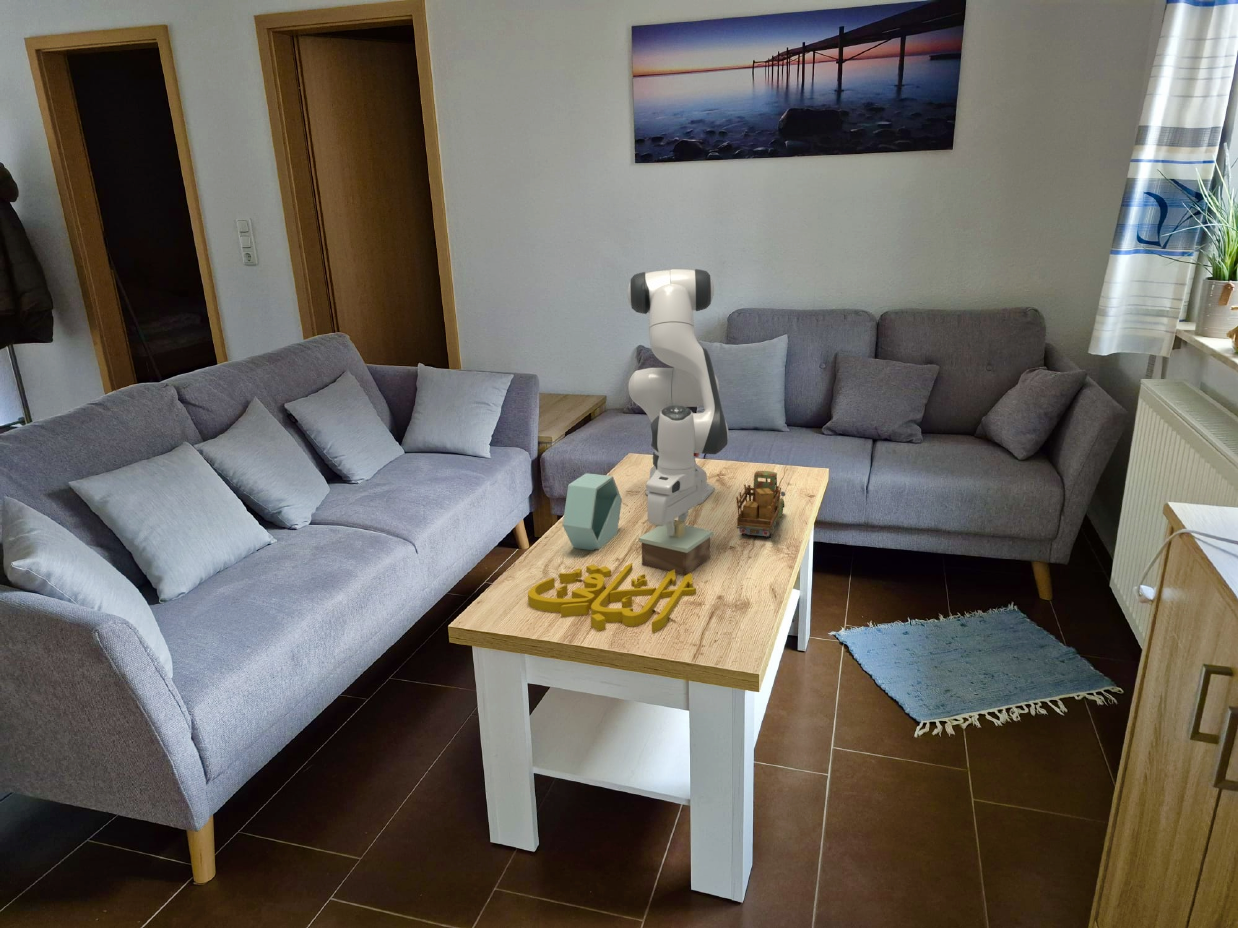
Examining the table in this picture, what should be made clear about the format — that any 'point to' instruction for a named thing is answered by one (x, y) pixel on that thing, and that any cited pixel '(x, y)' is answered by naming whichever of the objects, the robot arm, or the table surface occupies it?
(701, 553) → the walnut box
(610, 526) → the planter
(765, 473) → the toy truck
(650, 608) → the decorative art
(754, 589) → the table surface
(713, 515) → the table surface
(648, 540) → the lid
